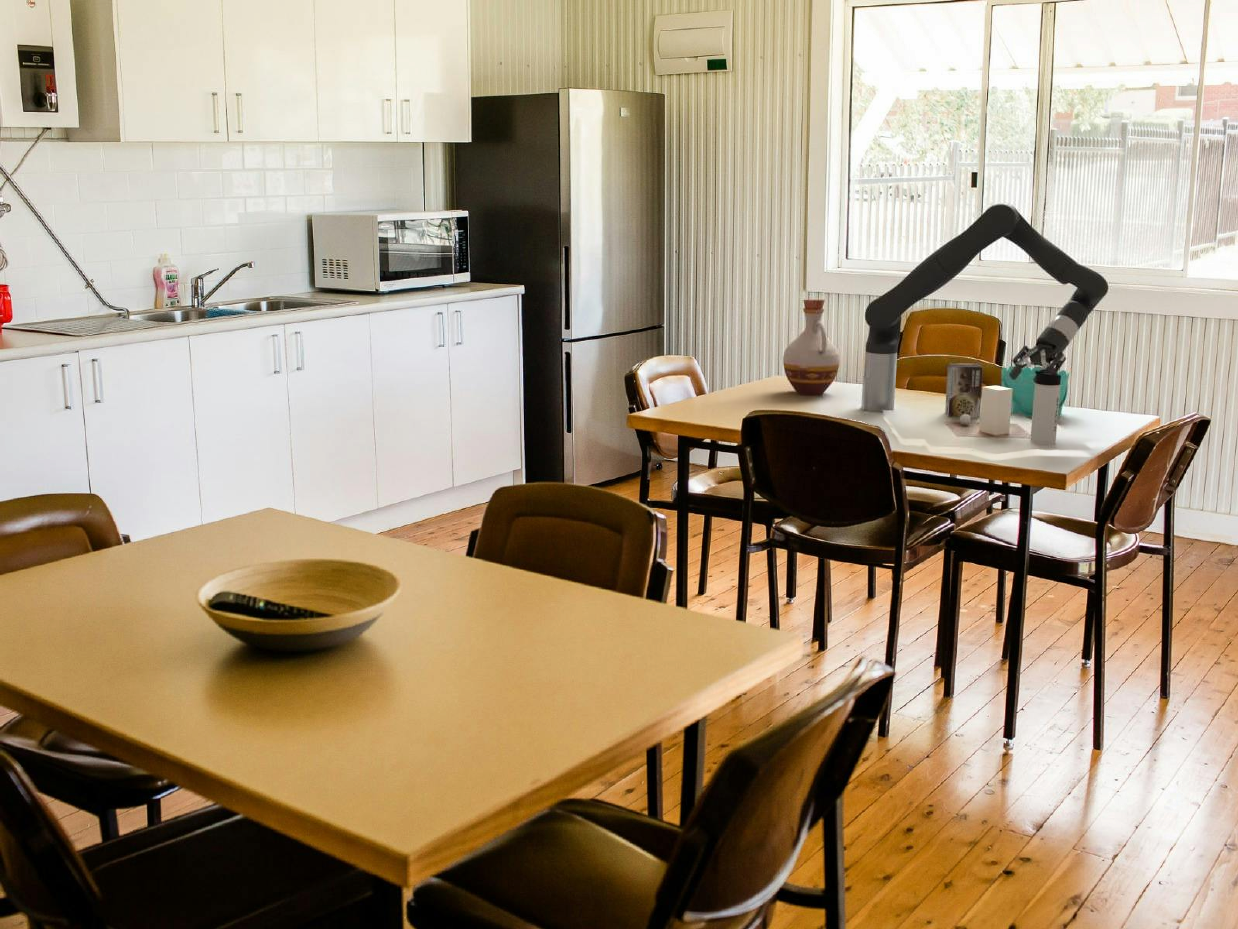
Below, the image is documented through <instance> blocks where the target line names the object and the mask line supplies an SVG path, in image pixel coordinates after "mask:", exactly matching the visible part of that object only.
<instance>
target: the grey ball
mask: <svg viewBox="0 0 1238 929" xmlns="http://www.w3.org/2000/svg"><path fill="white" fill-rule="evenodd" d="M959 422H960V423H961V424H963V425H968V424H969V423H970V422H972V418H971V417H970V416H969V415H967V414H964V415H962V416H961V417H959Z"/></svg>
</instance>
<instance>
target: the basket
mask: <svg viewBox="0 0 1238 929" xmlns="http://www.w3.org/2000/svg"><path fill="white" fill-rule="evenodd" d="M1014 367H1015V365H1010V366H1009V367H1008V369H1007V367H1005V366H1004V367H1002V369H1001V378H1000V380H1001V387H1006V388H1011V389H1013V392H1012V404H1011V414H1022V415H1023V416H1024V417H1026V418H1031V419H1032V414H1033V402H1034V390H1035V382H1034V381H1033V379H1034V377H1035V376H1036V374H1035V370H1038V371H1040V370H1043V369H1042V366H1039V365H1036V366H1034V367H1032V369H1031V367H1026V368H1025V369H1023V370H1022V372H1021V373H1020V374H1019V376H1018V377H1017V378H1016V379H1015V380H1012V379H1011V377H1010V372H1011V371H1012V369H1013V368H1014ZM1056 374H1058V375H1061V381H1060V382H1061V386H1060V398H1059V409H1058V418H1059V417H1061V416H1060V415H1062V411H1063V410H1062V409H1063V406H1064V403H1065V401H1066V399H1067V395H1068V388H1069V386H1068V384H1069V382H1068V381H1069V376H1070V372H1067V371H1066V370H1064V369H1063V370H1060V371H1059V372H1057V373H1056Z"/></svg>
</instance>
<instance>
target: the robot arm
mask: <svg viewBox="0 0 1238 929" xmlns="http://www.w3.org/2000/svg"><path fill="white" fill-rule="evenodd" d="M1002 238H1004V239H1006V240H1008V241H1009V242H1011V243H1013V244H1015V245H1016V246H1017V247H1019V248H1020V249H1021V250H1023V251H1024V253H1026V254H1027V255H1028V256H1029V257H1030V258H1031V259H1032V260H1033V261H1034V262H1035V263H1036V265H1038V266H1039V267H1040V268H1041V269H1042V270H1043V271H1044V272H1045V273H1047V274H1048V275H1049V276H1050V277H1052V278H1053V279H1054V280H1055V281H1057V282H1058V283H1059V284H1061V285H1068V284H1070V285H1072V286H1074V287H1075V291H1074V292H1073V294H1072V295H1071V297H1070V298H1069V299H1068V301H1067V303H1066V304H1064V305H1063V307H1062V308H1061V309H1060V310H1059V312H1058V313H1057V314H1056V315H1055V317H1054V318H1053V319H1052V320H1050V322H1049V323H1048V325H1047V326H1046V327H1045V329H1043V331H1042V332H1041V334H1040V335H1039V336H1038V337H1037V338H1036V342H1035V346H1033V347H1032V348H1029V347H1028V346H1027V345H1024V346H1023V347H1022V348H1021V349H1020V350H1019V352H1018V353H1017V354H1016V355H1015V356H1014V357H1013V359H1012V360H1011V361H1012V363H1013V364H1014V368H1013V369H1012V371H1011V372H1010V377H1011V379H1012V380H1015V379H1016V378H1017V377H1018V376H1019V374H1020V373H1021V372H1022V370H1023V369H1025V368H1026V367H1029V368H1031V367H1033V366H1039V367H1042V369H1043V370H1040V371H1045V372H1051V373H1057V372H1058V371H1059V370H1061V367H1062V366H1063V364H1064V363H1065V361H1066V360H1067V357H1066V355H1065V354H1064V351H1066V348H1067V347H1068V346H1069V344H1070V343H1071V342H1072V341H1073V339H1074V338H1075V337H1076V335H1077V333H1078V331H1079V330H1080V329H1081V328H1082V326H1083V325H1084V323H1085V322H1086V320H1087V318H1088V317H1089V315H1090V313H1092V312H1093V311H1094V309H1095V308H1096V307H1097V305H1098V304H1099V303H1100V302H1101V301H1102V300H1103V299H1104V298H1105V296H1106V295H1107V293H1108V291H1109V284H1108V282H1107V280H1106V279H1105V277H1104V276H1102V275H1101V274H1100V273H1098V271H1094V270H1093V269H1091V268H1090V267H1087V266H1085V265H1083V264H1080V263H1079V262H1077V261H1076V260H1075V259H1073V258H1072V257H1071V256H1070V255H1068V254H1067V253H1066V252H1064V251H1063V250H1062V249H1060V248H1059V247H1058V246H1056V244H1054V243H1053V242H1051V241H1050V240H1048V239H1047V238H1046V237H1044V236H1043V235H1042V234H1041V233H1039V231H1037V230H1036V229H1035V228H1034V227H1033V226H1032V225H1031V224H1030V223H1029V222H1028V221H1027V220H1026V219H1025V218H1024V217H1023V215H1022V214H1021V213H1020V211H1018V209H1017V208H1016V207H1015V206H1014V205H1013V204H1010V203H1007V202H997V203H994V204H992V205H991V206H989V207H988V208H987V209H985V211H983V213H982V214H981V215H980V216H979V217H977V219H976V220H975V221H973V223H972V224H971V225H970V226H969V227H967V229H965V230H963V232H962V233H960V234H958V235H957V236H955V237H953V238H952V239H950V240H949V241H947V242H946V243H944V244H943V245H941V247H939V248H938V249H936V250H935V251H933V252H932V253H931V254H929V255H928V256H927V257H926V258H925V259H924V260H923V261H921V263H919V264H918V265H917V266H916V267H914V269H912V271H910V272H909V274H907V275H906V276H905V277H904V278H903V279H902V280H901V281H900V282H899V283H898V284H896V286H893V288H891V289H889V291H887V292H885V293H884V294H882V295H881V296H879V297H877V298H876V299H874V300H872V301H870V302H869V303H868V305H867V306H866V309H865V312H864V319H865V323H866V324H867V325H868V326H869V328H868V329H869V330H868V336H867V340H866V342H865V354H864V356H865V357H864V371H863V377H862V388H861V409H862V410H863V411H869V412H881V413H882V412H884V411H891V412H893V411H894V410H895V399H896V398H895V397H896V396H895V394H896V379H897V378H896V376H897V364H898V363H897V362H898V348H899V343H900V340H901V328H902V327H901V326H902V316H903V314H904V313H905V312H906V311H908V310H909V308H911V307H912V306H914V305H916V304H917V303H919V301H921V300H923V299H925V298H926V297H929V296H930V295H931V294H933V293H935V292H936V291H939V290H940V289H941V288H943V287H945V285H946V284H948V283H949V282H950V281H952V280H953V279H954V278H955V277H957V276H958V275H959V274H960V273H961V272H962V271H964V269H965V268H966V267H968V265H969V264H970V263H971V262H972V261H973V260H974V259H975V258H976V257H977V255H978V254H979V253H980V252H983V250H985V249H986V248H987V247H989V246H990V245H992V244H994V243H995V242H997V241H998V240H999V239H1002ZM1029 360H1030V361H1029ZM1023 363H1024V364H1023ZM1058 373H1059V372H1058ZM1033 381H1034V382H1035V381H1036V376H1035V377H1034V379H1033Z"/></svg>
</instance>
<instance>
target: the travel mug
mask: <svg viewBox="0 0 1238 929" xmlns="http://www.w3.org/2000/svg"><path fill="white" fill-rule="evenodd" d="M1035 374H1036V381H1035V390H1034V402H1033V414H1032V418H1031V426H1030V435H1031V438H1029V439H1030V442H1031V443H1033V444H1038V445H1039V444H1040V445H1054V444H1056V440H1057V431H1058V419H1059V417H1058V409H1059V398H1060V386H1061V382H1060V381H1061V375H1058V374H1056V373H1051V372H1045V371H1038V370H1035Z"/></svg>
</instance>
